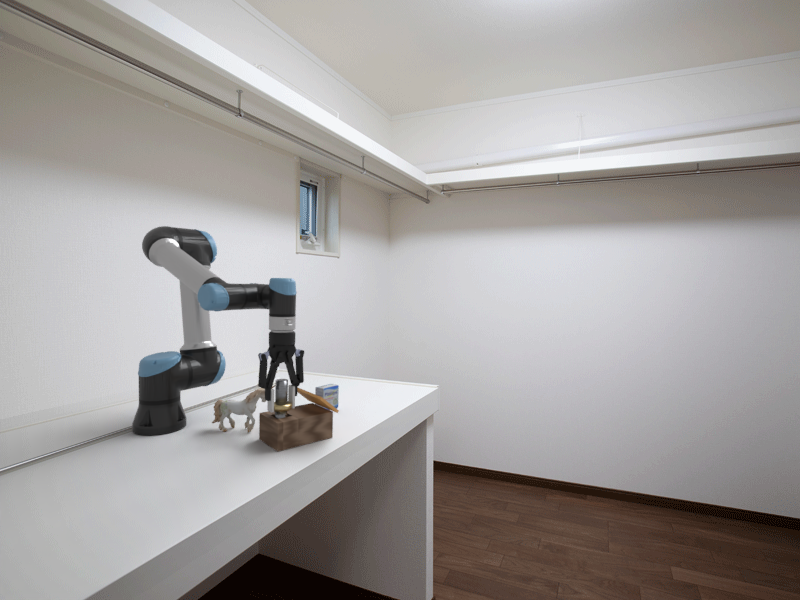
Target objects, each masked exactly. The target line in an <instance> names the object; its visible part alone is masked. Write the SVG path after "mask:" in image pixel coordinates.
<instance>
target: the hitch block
mask: <svg viewBox="0 0 800 600" xmlns="http://www.w3.org/2000/svg"><path fill="white" fill-rule="evenodd" d="M258 418H259V420H258V421H259V422H258V423H259V426H258V427H259V428H258V429H259V432H258V434H259V435H258V437H259V439H258V440H260V441H261V442H262V443H263V444H265V445H267V446H268V447H270V448H271V449H273V450H275V452H278V453H279V452H281V451H285V450H286V451H287V450H290V449H294V448H297V447H301V446H305V445H309V444H313V443H316V442H320V441H324V440H328V439H332V438H333V432H334V431H333V429H334V428H333V427H334V426H333V425H334V424H333V423H334V419H333V418H334V411H332V410H328V409H325V408H323V407H321V406H318V405H316V404H315V403H313V402H310V403H305V404H300V405H295V408H293V409H291V410H289V411H287V417H284V418H280V419H277V418H275V411H274V412H272V413H271V412H269V411H268V410H267V411H264V412H259V417H258Z"/></svg>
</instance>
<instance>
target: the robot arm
mask: <svg viewBox="0 0 800 600" xmlns="http://www.w3.org/2000/svg"><path fill="white" fill-rule="evenodd" d="M141 248H142V249H141V250H142V252H143V254H144V256H145V258H147V260H148V261H150V262H151V263H152V264H153V265H154V266H157V267H159V268H160V267H161V268H163V269H165V270H166V271H167V272H168V273H170V274H171V275H172V276H174V277H175V278H176V279H177V280H179V290H180V291H179V292H180V293H179V295H180V302H181V303H180V307H181V318H182V330H183V331H182V333H183V334H182V335H183V345H182V346H181V347H180V348H179V351H175V350H174V351H171V350H170V351H165V352H164V351H162V352H156V353H152V354H149V355H146V356H144V357H142V358H141V359H140V361H139V363H138V372H137V375H138V407H137V410H136V413H135V415H134V418H133V420H132V424H131V428H132V433H133V434H135V435H141V436H157V435H164V434H170V433H174V432H177V431H179V430H182V429H184V428H185V427H186V426H187V416H186V412H185V410H184V408H183V405H182V402H181V392H183V391H187V390H191V389H197V388H201V387H208V386H210V385H214V384H217V383H218V382H219V381H220V380H221V379H222V378H223V377H224V374H225V371H226V367H227V365H226V358H225V356H224V353H223V352H222V351H220V350H218V347H217V345H216V343H214V342H213V341H212V329H211V318H210V317H211V316H210V315H211V314H210V312H211V311H212V312H222V311H236V310H237V311H238V310H240V311H241V310H242V311H243V310H269V311H268V330H269V332H268V349H267V350H266V351H265V352H263V353H262V352H259V353H258V355H257V356H258V360H259V369H258V383H257V384H258V385H257V386H258V388H259V389H260V388H263V389H265V400H267V401H266V402H267V412H268V411H269V412H271V413H272V412H274V402H275V389H274V388H272V386H274V381H275V380H276V379H275V378H276V375H277V371H278V368H279V367H280V364H283V363H284V365H285V366H286V372H287V374H288V377H289V382H290V384H288V401H289V402H291V403H292V409H293V408H295V406H296V397H298V392H297V387H298V388H299V386H300V384H303V383H304V381H305V379H304V378H305V377H304V356H305V350H303V349H299V348H296V345H295V344H296V331H295V330H296V319H297V318H296V316H297V315H296V314H297V313H296V312H297V310H296V308H297V305H296V304H297V293H298V292H297V284H296V280H295V279H294V278H292V277H285V278H284V277H271V278H270V279H269V283H267V284H264V283H256V282H255V283H252V282H251V283H230V282H226V281H225V280H224V279H222V278H220V276H218V275H217V274H215V273H214V272H213V271H211V270H210V269H211V268H212V267H211V264H213V263H214V262H215V260H216V258H217V255H218V249H217V248H218V247H217V243H216V240H215V239H214V238H213V236H212V235H211V234H210V233H208V232H207V231H204V230H199V229H196V228H195V229H193V228H183V227H174V226H168V225H167V226H165V225H161V226H157V227H154V228H152V229H151V230H149V231H148V232H147V233H146V234H145V236H144V237H143V239H142V242H141ZM293 356H295V358H294V360H295V366H294V361H293ZM269 357H270V363H269V365H270V366H269V369H268V360H269Z"/></svg>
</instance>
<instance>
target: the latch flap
mask: <svg viewBox="0 0 800 600" xmlns="http://www.w3.org/2000/svg"><path fill="white" fill-rule="evenodd" d="M297 394H299V395H301V396H302V397H303V398H304V399H306V400H307V401H309V402H310V403H314V404H318V405H320V406H322V407H325V408H327V409H329V410H330V411H332V412H333V413H337V414H338V413H339V412H340V410H339V409H338V408H335V407H334V406H332V405H331V404H330V403H329V402H327V401H326V400H325V399H323V398H322V397H320V396H318V395H315V393H314V392H313V393H312V392H309V391H308V390H305V389H302V388H300V387H299V386H298V387H297Z"/></svg>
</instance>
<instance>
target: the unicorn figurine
mask: <svg viewBox="0 0 800 600" xmlns="http://www.w3.org/2000/svg"><path fill="white" fill-rule="evenodd" d="M274 388H275V384H273V386H272V389H274ZM259 399H261V402H262V403H266V402H268V401H267V400H265V389H263V388H260V387H259V389H255V390H254V391H252V392H250V393H249V394H248V395H246V396H245V398H244V399H243V400H235V399H226V400H222V399H220V398H219V399H218V400H217V401H216V402H214V406H213V411H214V413H213V416H214V419H213V421H212V422H211V424H216V423H219V425H218V429H219V430H220V431H221V430H222V432H224V433H227V432H228V429H227V427H225V425H224V421H225V418H227V419H228V423H229V424H230V428H231V429H235V426H236V422H235V420H234V419H233V418H232V416H231V414H234V415H237V416H246V417H247V418H246V421H245V422H244V428H245V429H246V430H247V434H249V433H251V432H252V431H253V429H254V426H255V423H256V418H255V417H254V413H255V412H256V409H257V404H258V401H259ZM250 421H251V423H250Z"/></svg>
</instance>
